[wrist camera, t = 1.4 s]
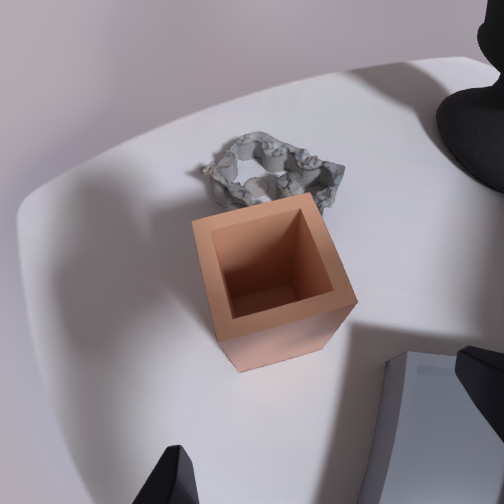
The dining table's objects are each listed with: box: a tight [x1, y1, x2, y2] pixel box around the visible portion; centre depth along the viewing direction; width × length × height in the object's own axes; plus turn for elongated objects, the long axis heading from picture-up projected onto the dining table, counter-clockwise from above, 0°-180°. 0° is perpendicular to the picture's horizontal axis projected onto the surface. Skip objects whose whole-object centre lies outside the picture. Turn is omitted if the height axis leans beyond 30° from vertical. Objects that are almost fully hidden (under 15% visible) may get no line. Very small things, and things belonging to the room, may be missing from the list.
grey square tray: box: [357, 351, 504, 504], centre depth 14 cm, size 16×16×4 cm
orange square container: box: [191, 192, 358, 373], centre depth 19 cm, size 6×6×10 cm
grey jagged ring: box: [200, 132, 345, 216], centre depth 27 cm, size 11×8×4 cm
